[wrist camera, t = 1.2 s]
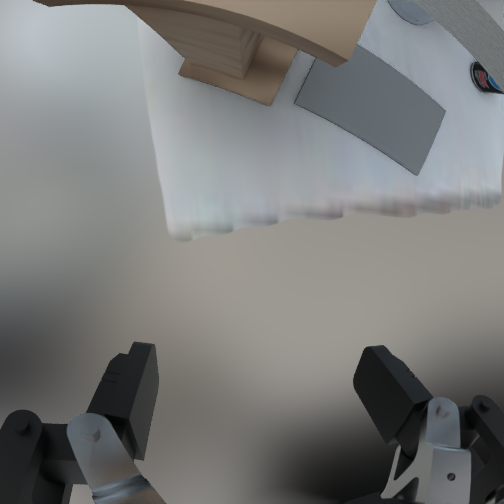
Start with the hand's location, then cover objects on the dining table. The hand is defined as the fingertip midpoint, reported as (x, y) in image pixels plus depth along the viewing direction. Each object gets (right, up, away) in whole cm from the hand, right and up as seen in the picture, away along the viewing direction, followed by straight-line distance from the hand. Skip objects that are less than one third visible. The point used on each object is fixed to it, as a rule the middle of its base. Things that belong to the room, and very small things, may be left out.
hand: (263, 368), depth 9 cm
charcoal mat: (+19, +27, +25) cm, 42 cm away
